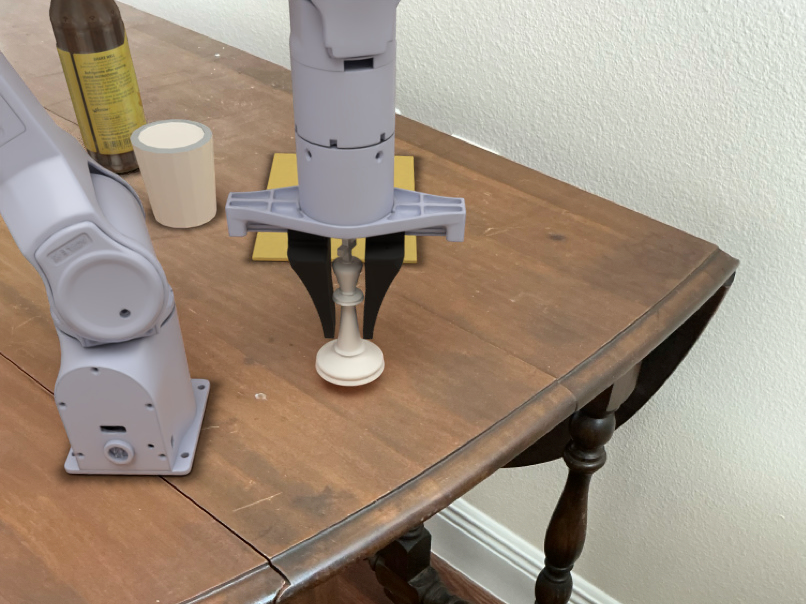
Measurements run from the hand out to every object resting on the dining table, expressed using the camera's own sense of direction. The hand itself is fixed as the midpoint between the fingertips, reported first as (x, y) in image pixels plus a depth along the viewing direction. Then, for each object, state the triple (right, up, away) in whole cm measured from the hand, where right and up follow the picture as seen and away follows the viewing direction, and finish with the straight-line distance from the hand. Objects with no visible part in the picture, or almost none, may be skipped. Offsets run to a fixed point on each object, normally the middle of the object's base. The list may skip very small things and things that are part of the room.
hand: (349, 330), depth 58 cm
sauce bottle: (-24, +23, +25) cm, 42 cm away
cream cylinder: (-16, +15, +19) cm, 29 cm away
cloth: (-2, +17, +20) cm, 26 cm away
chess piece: (0, -2, +2) cm, 3 cm away
